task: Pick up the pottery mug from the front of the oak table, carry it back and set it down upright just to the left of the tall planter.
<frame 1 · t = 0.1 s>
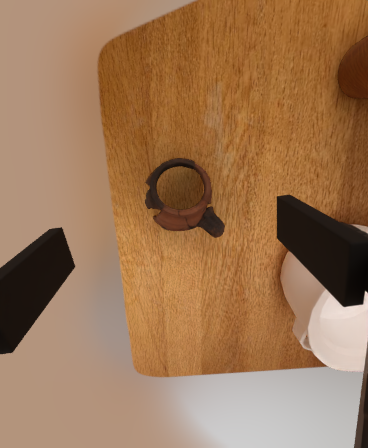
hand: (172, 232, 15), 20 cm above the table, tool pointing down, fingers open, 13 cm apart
disposable coffee cup: (361, 70, 31), on the table
pottery mug: (184, 198, 36), on the table
pot: (324, 262, 40), on the table
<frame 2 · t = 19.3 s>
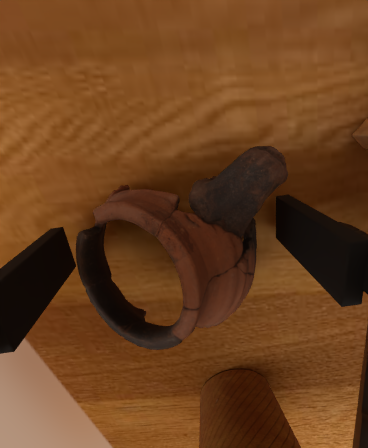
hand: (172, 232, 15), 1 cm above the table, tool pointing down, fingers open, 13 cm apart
disposable coffee cup: (234, 391, 22), on the table
pottery mug: (188, 221, 16), on the table
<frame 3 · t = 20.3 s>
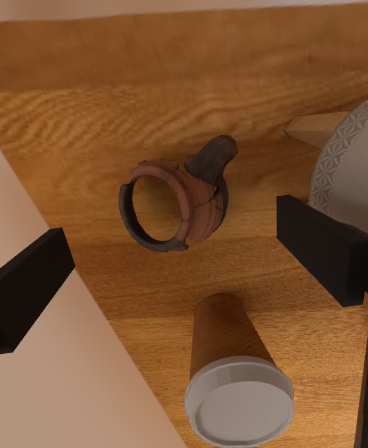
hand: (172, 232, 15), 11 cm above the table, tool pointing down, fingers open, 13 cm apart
disposable coffee cup: (218, 313, 32), on the table
pottery mug: (185, 185, 25), on the table
planter: (332, 164, 25), on the table, touching gripper
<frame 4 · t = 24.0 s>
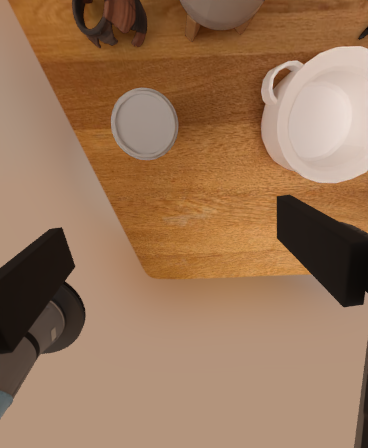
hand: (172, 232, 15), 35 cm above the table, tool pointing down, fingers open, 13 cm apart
disposable coffee cup: (151, 126, 45), on the table
pottery mug: (119, 15, 39), on the table
planter: (213, 0, 39), on the table
pot: (297, 122, 46), on the table
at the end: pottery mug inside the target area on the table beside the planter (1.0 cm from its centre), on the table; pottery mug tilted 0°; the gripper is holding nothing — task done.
